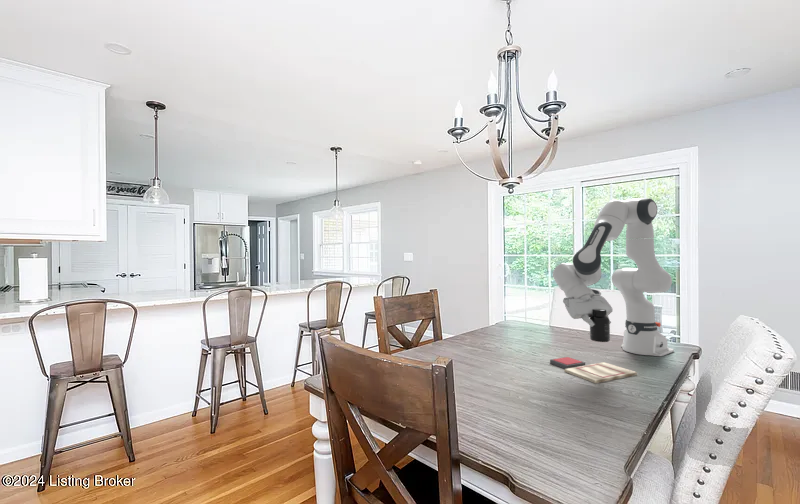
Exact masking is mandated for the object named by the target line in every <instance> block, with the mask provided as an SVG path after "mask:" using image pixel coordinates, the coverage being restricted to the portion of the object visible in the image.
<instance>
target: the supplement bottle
mask: <svg viewBox="0 0 800 504" xmlns="http://www.w3.org/2000/svg"><path fill="white" fill-rule="evenodd" d="M592 311H593V313H592V314H593V316H591V317H589V318H590V319H591V320H592V321H594V322H595V323H596V325H595V326H594V327H590V326H589V340H591V341H594V342H597V343H608V342H610V340H611V329H610V328H611V323H610V321H611V319H610V318H608V317H609V316H608V317H607V316H606V315H607V313H606V310H605V309H593V310H592Z"/></svg>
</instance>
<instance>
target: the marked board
mask: <svg viewBox="0 0 800 504" xmlns="http://www.w3.org/2000/svg"><path fill="white" fill-rule="evenodd" d="M564 373H567V374H570V375H573V376H574V377H575V376H576V377H577V378H580V379H584V380H586V381H589V382H591V383H594V384H598V383H604V382H608V381H609V382H610V381H613V380H619V379H625V378H628V377H633V376H637V375H638V372H637V371H634V370H631V369H629V368H628V369H627V368H625V367H622V366H618V365H615V364H611V363H608V362H604V361H603V362H598V363H591V364H587V365H586V364H585V366H579V367H574V368H568V369H565V368H564Z"/></svg>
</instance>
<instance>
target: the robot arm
mask: <svg viewBox="0 0 800 504" xmlns="http://www.w3.org/2000/svg"><path fill="white" fill-rule="evenodd" d="M657 214H658V205H657V203H656V202H655V201H654V199H652V198H649V197H648V198H645V197H641V198H631V199H626V200H619V199H612V200H610V201H607V202H606V203H605V205H604V206H603V207H602V208H601V211H600V212H599V213H598V216H597V218H596V220H595V222H594V225H593V229H592V231H591V233H590V235H589V236H588V238H587V240H586V242H585V244H584V245H583V246H582V248H580V249H579V250H578V251H577V252H576V253H575V254H574V256H573V257H572V263H566V262H562V263H559V264H558V265H556V266H555V267H554V269H553V271H552V277H553V279H554V281H555V283H556V285H557V286H558V287H559V289H560V290H561V291H562V292H563V293H564V295H565V297H564V298H563V299H562V302H563V304H564V306H565V309H566V311H567V313H568V315H569V316H570V317H571V318H572V319H573V320H579V319H581V320H583V322H585V323H587V324H588V325H589V328H590V327H594V326H595V325H596V323H595V322H594V321H592V320H591V319H590V317H591V316H593V314H592V313H593V311H592V310H593V309H605V310H606V313H607V315H606V316H607V317H608V318H609V316H610V314H612V312H613V307H612V305H611V304H610V303H609V301H608V300H607V299H606V298H605V297H603V296H602V292H600V290H598V289H594V288H590V286H593V285H595V284H597V283H598V282H600V281H601V278H602V265H601V264H602V257H601V256H602V255H601V253H602V250H603V248H604V246H605V243H606V242H610V241H615V240H617V239H618V237H619V236H620V235H621V234H622V232H623V229H624V227H625V225H626V229H625V254H626V256H627V258H628V259H630V260H632V261H633V262H634V263H635V265H636V266H637V267H623V268H617V269H615V270H614V271H613V273H612V276H611V283H612V284H613V286H614V287H615V288H616V289H617V290H618V291H619V292H620V293H621V294H622V297H623V299H624V303H625V311H626V319H625V321H624V322H625V323H624V324H625V330H624V331H623V339H622V344H620V347H621V348H622V350H623V351H624V352H627V353H631V354H636V355H643V356H644V355H645V356H655V357H663V356H666V355H668V354H672V353H674V352H675V349H674V348H671V347H669V346H668V339H667V337H666V336H664V335H663V334H662V333H661V332H660V331H659V330H658V327H659V328H661V326H662V325H661V322H657V321H655V319H656V318H655V312H656V311H655V305H654V304H653V302H651V301H650V300H648V299H647V298H646V297H645V294H644V293H649V294H650V293H651V294H659V293H666V292H668V291H669V290H670V289H671V287H672V284H673V278H672V276H671V274H670V272H668V271H667V270H665V269H664V268H663V267H662V266H661V265H660V263H659V261H658V259H657V257H656V253H655V239H654V238H655V234H654V233H655V232H654V226H653V221H654V220H655V218H656V216H657ZM609 319H610V318H609ZM611 323H612V321H611V320H610V324H611Z"/></svg>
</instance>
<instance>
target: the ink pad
mask: <svg viewBox="0 0 800 504" xmlns="http://www.w3.org/2000/svg"><path fill="white" fill-rule="evenodd" d="M549 363H550V364H551V365H554V366H556V367H559V368H562V369H564V370H565V369H568V368H574V367H579V366H585V365H586V362H584V361H582V360H579V359H575V358H572V357H569V356H564V357H558V358H553V359H549Z"/></svg>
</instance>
